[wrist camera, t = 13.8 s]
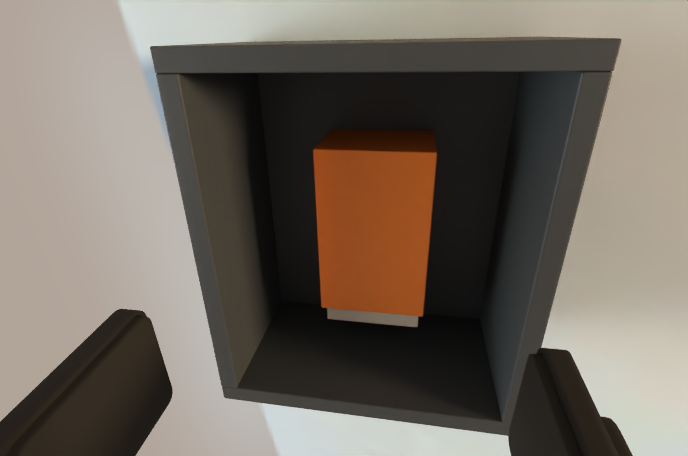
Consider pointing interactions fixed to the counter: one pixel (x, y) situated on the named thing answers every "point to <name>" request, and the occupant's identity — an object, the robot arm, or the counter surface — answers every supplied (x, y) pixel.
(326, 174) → the block
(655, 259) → the counter surface
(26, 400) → the robot arm
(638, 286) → the counter surface
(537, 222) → the trash bin
